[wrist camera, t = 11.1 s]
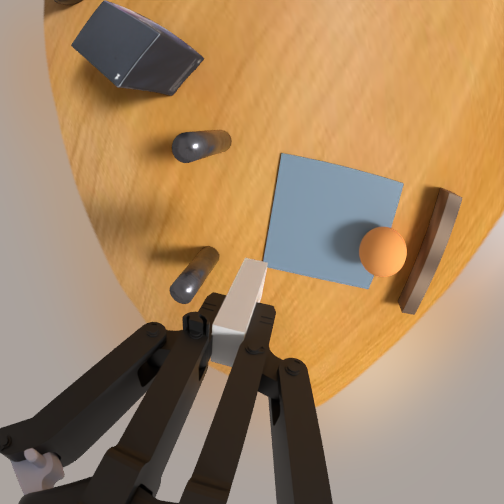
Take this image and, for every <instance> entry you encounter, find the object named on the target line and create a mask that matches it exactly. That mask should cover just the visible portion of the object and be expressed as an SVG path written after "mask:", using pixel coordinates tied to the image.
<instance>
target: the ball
mask: <svg viewBox="0 0 504 504" xmlns="http://www.w3.org/2000/svg"><path fill="white" fill-rule="evenodd" d="M406 255H407V248H406V244H405V241H404V239H403V238H402V236H401V235H400V234H399V233H398V232H397V231H396V230H394V229H392V228H389V227H377V228H374V229H372V230H370V231H369V232H368V233H367V234H366V235H365V236H364V237H363V239H362V241H361V243H360V248H359V256H360V260H361V263H362V265H363V266H364V268H365V269H366V270H367V271H368V272H369V273H371V274H372V275H375V276H378V277H388V276H391V275H393V274H395V273H397V272H398V271H399V270H400V269H401V268H402V266H403V265H404V262H405V260H406Z"/></svg>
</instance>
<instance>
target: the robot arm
mask: <svg viewBox="0 0 504 504" xmlns="http://www.w3.org/2000/svg"><path fill="white" fill-rule="evenodd" d="M54 1H55V2H57V3H60V4H65V5H72V4H75V3H78V2H80V1H81V0H54ZM267 265H268V263H267V262H262V261H258V260H253V259H249V258H245V259H244V261H243V263H242V265H241V267H240V269H239V271H238V273H237V275H236V278H235V280H234V282H233V284H232V286H231V288H230V290H229V292H228V294H227V296H226V295H222V294H218V293H214V292H213V293H212V294H210V295H209V296H207V298H206V299H205V301H204V303H203V304H202V306H201V308H200V310H199V311H198V312H190V313H187V314H185V315H184V316H183V330H180V331H170V330H166V329H165V327H164V326H163V325H162V324H160V323H158V322H150V323H146V324H145V325H143V326H142V327H141V328H140V329H138V330H137V331H136V332H135V333H133V334H132V335H131V336H130V337H129V338H127V339H126V340H125V341H123V342H122V343H121V344H120V345H119V346H117V347H116V348H115V349H114V350H113V351H112V352H110V353H109V354H108V355H106V356H105V357H104V358H103V359H102V360H100V361H99V362H98V363H97V364H96V365H94V366H93V367H92V368H91V369H90V370H88V371H87V372H86V373H85V374H84V375H83V376H81V377H80V378H79V379H78V380H76V381H75V382H74V383H73V384H72V385H70V386H69V387H68V388H67V389H66V390H64V391H63V392H62V393H61V394H60V395H58V396H57V397H56V398H55V399H54V400H53V401H51V402H50V403H49V404H48V405H47V406H45V407H44V408H43V409H42V410H41V411H40V412H38V413H37V414H36V415H35V416H34V417H33V418H30V419H27V420H24V421H21V422H18V423H15V424H12V425H9V426H6V427H3V428H0V453H2V454H3V455H4V456H6V457H7V458H8V459H10V461H11V463H12V466H13V469H14V471H15V474H16V476H17V479H18V481H19V484H20V486H21V489H22V491H23V493H24V496H23V497H22V498H21V500H20V501H19V504H226V503H227V499H228V496H229V493H230V489H231V485H232V482H233V479H234V475H235V472H236V469H237V465H238V462H239V458H240V455H241V451H242V448H243V444H244V441H245V437H246V433H247V430H248V426H249V423H250V419H251V415H252V411H253V407H254V403H255V400H256V396H257V392H260V393H262V394H264V395H266V396H268V398H269V411H270V423H271V436H272V448H273V460H274V473H275V485H276V499H277V504H333V503H332V498H331V490H330V484H329V479H328V473H327V467H326V461H325V456H324V450H323V446H322V440H321V435H320V429H319V424H318V419H317V414H316V409H315V404H314V399H313V394H312V389H311V384H310V379H309V375H308V370H307V367H306V365H305V364H304V363H303V362H302V361H300V360H298V359H295V358H286V359H284V360H282V359H280V358H278V357H276V356H275V355H274V354H273V353H272V352H271V351H270V349H269V341H270V337H271V333H272V328H273V324H274V319H275V315H276V311H275V309H274V306H271V305H267V304H262V303H260V300H261V296H262V291H263V286H264V281H265V275H266V270H267ZM210 357H211V361H212V362H216V363H219V364H223V365H227V366H231V367H232V369H231V372H230V374H229V377H228V380H227V383H226V386H225V388H224V391H223V394H222V397H221V400H220V402H219V405H218V408H217V411H216V413H215V416H214V419H213V421H212V424H211V427H210V430H209V432H208V435H207V438H206V440H205V443H204V446H203V448H202V451H201V454H200V456H199V459H198V462H197V464H196V467H195V469H194V472H193V474H192V477H191V478H190V480H189V481H188V483H187V485H186V487H185V489H184V492H183V494H182V497H181V499H180V502H179V503H173V502H166V501H160V500H157V499H156V498H155V496H156V494H157V492H158V489H159V487H160V483H161V477H162V474H163V471H164V469H165V467H166V464H167V462H168V460H169V457H170V455H171V453H172V451H173V448H174V446H175V444H176V441H177V439H178V437H179V434H180V432H181V430H182V427H183V425H184V423H185V420H186V418H187V416H188V414H189V411H190V409H191V407H192V404H193V402H194V400H195V397H196V395H197V392H198V390H199V388H200V386H201V383H202V381H203V378H204V376H205V374H206V371H207V369H208V361H209V359H210ZM144 393H146V394H145V396H144V398H143V400H142V401H141V403H140V405H139V407H138V409H137V410H136V412H135V414H134V416H133V418H132V419H131V421H130V423H129V425H128V426H127V428H126V430H125V432H124V434H123V436H122V437H121V439H120V441H119V442H118V444H117V445H116V446H114V447H111V448H110V449H108V450H107V452H106V453H105V455H104V457H103V459H102V460H101V462H100V464H99V466H98V468H97V469H96V471H95V473H94V475H93V476H92V477H89V478H86V479H83V480H80V481H76V482H73V483H70V484H66V485H62V486H58V487H54V484H55V483H56V482H57V481H58V480H60V479H62V478H63V477H64V471H63V467H65V466H67V465H69V464H71V463H73V462H74V461H76V460H77V459H78V458H79V457H80V456H82V455H83V454H84V453H85V452H86V451H87V450H88V449H89V448H90V447H91V446H92V445H93V444H94V443H95V442H96V441H97V440H98V439H99V438H100V437H101V436H102V435H103V434H104V433H105V432H106V431H107V430H108V429H109V428H111V427H112V426H113V425H114V424H115V422H116V421H118V420H119V419H120V418H121V417H122V416H123V415H124V414H125V413H126V412H127V410H129V409H130V408H131V406H133V405H134V404H135V402H137V401H138V400H139V399H140V397H141V396H143V395H144ZM53 487H54V488H53Z"/></svg>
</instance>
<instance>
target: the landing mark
mask: <svg viewBox="0 0 504 504" xmlns="http://www.w3.org/2000/svg"><path fill="white" fill-rule="evenodd" d="M402 188H403V183H401V182H397V181H394V180H391V179H388V178H384V177H381V176H378V175H374V174H371V173H367V172H363V171H360V170H356V169H352V168H348V167H344V166H340V165H336V164H332V163H327V162H323V161H319V160H314V159H309V158H305V157H300V156H295V155H289V154H284V153H282V154H281V161H280V167H279V173H278V179H277V185H276V191H275V197H274V202H273V208H272V214H271V220H270V226H269V231H268V237H267V243H266V249H265V254H264V260H263V262H267V263H268V265H267V267H268V268H273V269H277V270H282V271H286V272H291V273H295V274H300V275H304V276H309V277H314V278H318V279H323V280H327V281H332V282H337V283H341V284H346V285H351V286H355V287H360V288H365V289H369V287H370V284H371V282H372V279H373V277H374V275H372V274H371V273H369V272H368V271H367V270H366V269H365V268H364V266H363V265H362V263H361V260H360V256H359V248H360V243H361V241H362V239H363V237H364V236H365V235H366V234H367V233H368V232H369V231H370V230H372V229H374V228H377V227H389V228H391V226H392V223H393V219H394V216H395V213H396V209H397V206H398V203H399V199H400V195H401V192H402Z"/></svg>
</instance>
